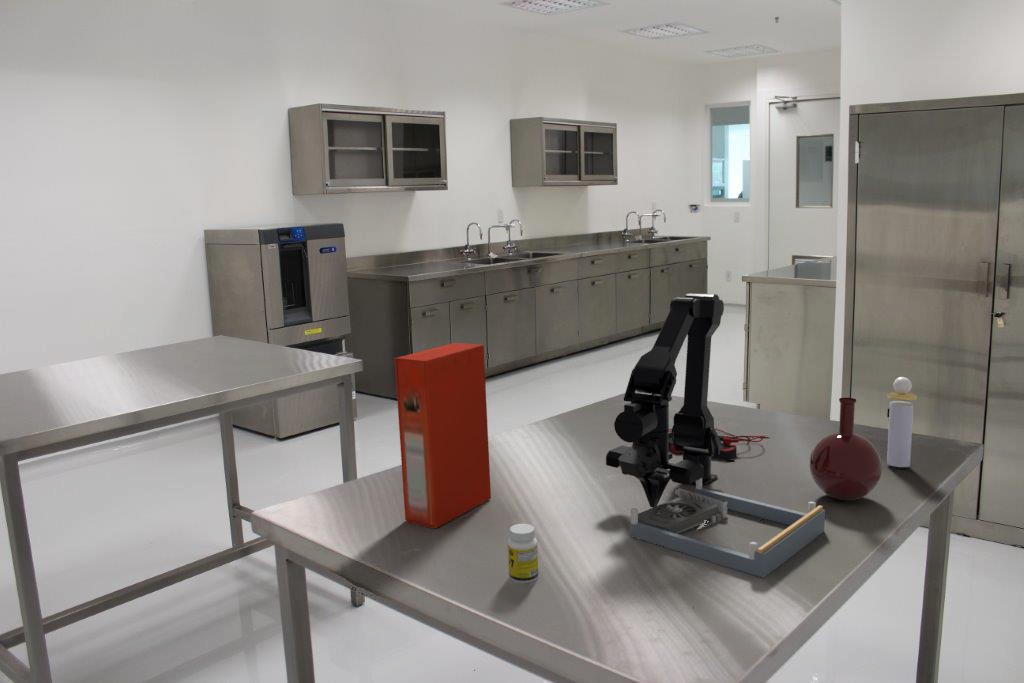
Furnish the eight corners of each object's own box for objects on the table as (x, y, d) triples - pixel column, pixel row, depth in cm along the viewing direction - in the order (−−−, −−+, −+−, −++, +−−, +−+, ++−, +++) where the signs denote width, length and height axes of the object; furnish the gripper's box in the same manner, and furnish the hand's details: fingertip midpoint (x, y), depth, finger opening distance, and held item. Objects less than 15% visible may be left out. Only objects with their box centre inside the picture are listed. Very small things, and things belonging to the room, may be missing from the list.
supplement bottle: (508, 571, 134) (506, 523, 132) (536, 569, 134) (535, 521, 133) (510, 585, 129) (508, 535, 128) (540, 583, 129) (538, 533, 128)
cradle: (697, 498, 163) (698, 474, 162) (824, 531, 145) (825, 504, 144) (629, 536, 146) (629, 509, 145) (763, 578, 129) (764, 548, 128)
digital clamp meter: (741, 448, 181) (639, 432, 196) (740, 467, 182) (639, 450, 196) (775, 422, 200) (681, 409, 214) (775, 440, 200) (681, 426, 215)
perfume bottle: (917, 471, 174) (922, 380, 170) (889, 471, 174) (893, 380, 171) (907, 462, 179) (911, 374, 176) (879, 462, 180) (884, 374, 177)
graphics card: (678, 485, 162) (728, 500, 153) (679, 503, 163) (729, 519, 153) (619, 508, 152) (669, 525, 142) (620, 527, 152) (669, 546, 143)
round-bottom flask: (847, 516, 152) (852, 411, 148) (793, 494, 163) (796, 397, 160) (895, 502, 158) (900, 401, 154) (840, 482, 169) (843, 388, 166)
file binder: (404, 520, 157) (394, 357, 151) (459, 492, 170) (452, 342, 165) (436, 529, 152) (427, 361, 146) (491, 499, 166) (484, 345, 160)
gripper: (587, 429, 154) (589, 507, 157) (672, 448, 142) (672, 532, 144) (622, 417, 162) (622, 491, 165) (705, 433, 150) (704, 513, 152)
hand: (653, 506), depth 157 cm, fingers closed
